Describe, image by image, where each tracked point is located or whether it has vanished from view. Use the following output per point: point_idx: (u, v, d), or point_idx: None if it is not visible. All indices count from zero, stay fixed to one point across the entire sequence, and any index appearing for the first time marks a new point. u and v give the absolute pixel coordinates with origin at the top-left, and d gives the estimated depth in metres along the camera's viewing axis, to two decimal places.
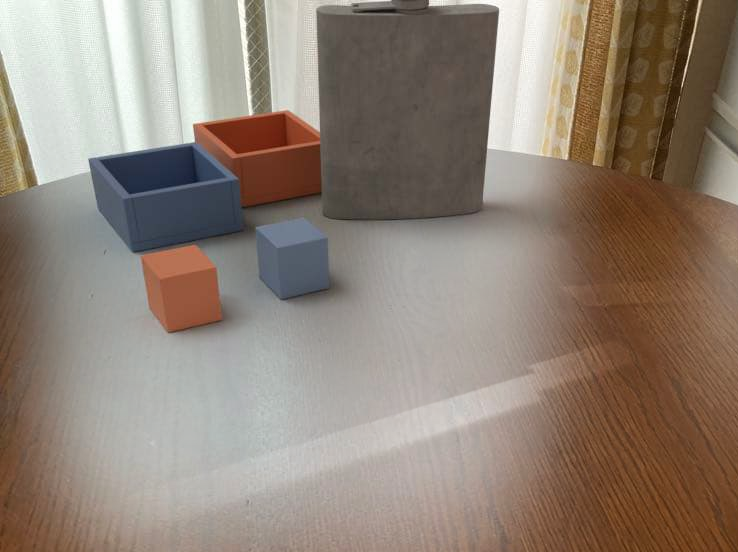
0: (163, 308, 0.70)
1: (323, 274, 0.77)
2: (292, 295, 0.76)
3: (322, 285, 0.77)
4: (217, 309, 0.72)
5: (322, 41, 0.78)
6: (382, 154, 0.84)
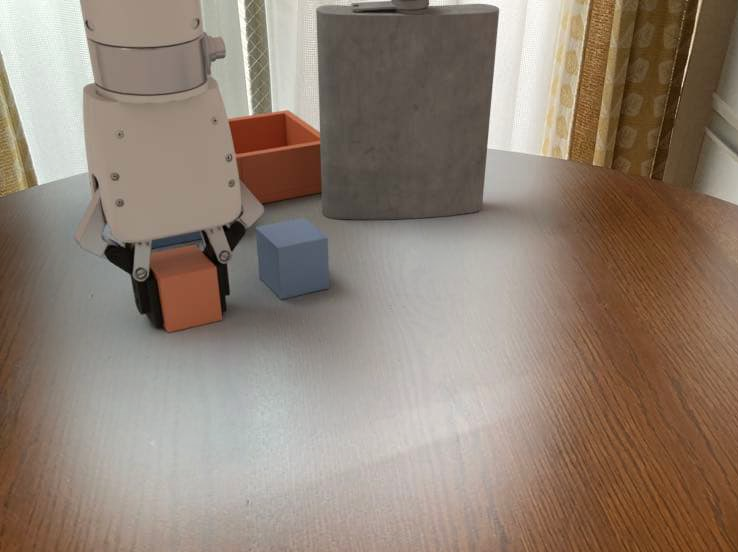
0: (163, 308, 0.70)
1: (323, 274, 0.77)
2: (292, 295, 0.76)
3: (322, 285, 0.77)
4: (217, 310, 0.72)
5: (322, 41, 0.78)
6: (382, 154, 0.84)
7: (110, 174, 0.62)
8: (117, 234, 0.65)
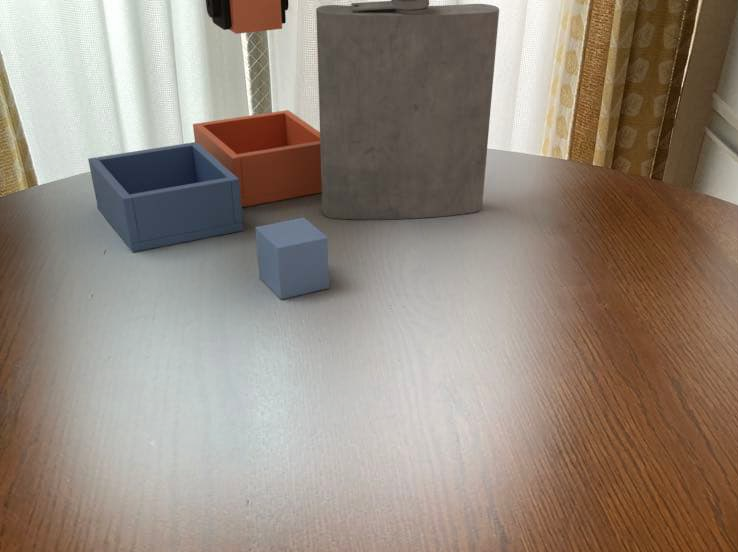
0: (232, 8, 0.80)
1: (323, 274, 0.77)
2: (292, 295, 0.76)
3: (322, 285, 0.77)
4: (278, 17, 0.82)
5: (322, 41, 0.78)
6: (382, 154, 0.84)
7: None
8: None
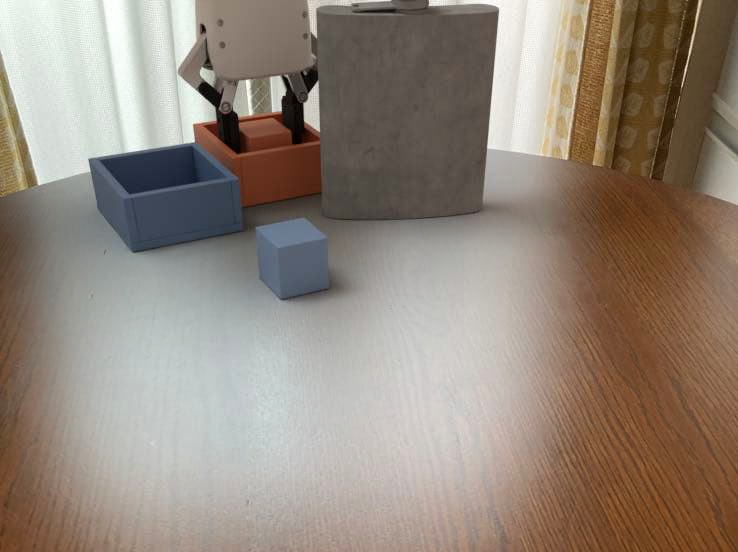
0: None
1: (323, 274, 0.77)
2: (292, 295, 0.76)
3: (322, 285, 0.77)
4: None
5: (322, 41, 0.78)
6: (382, 154, 0.84)
7: (217, 20, 0.82)
8: (218, 72, 0.84)
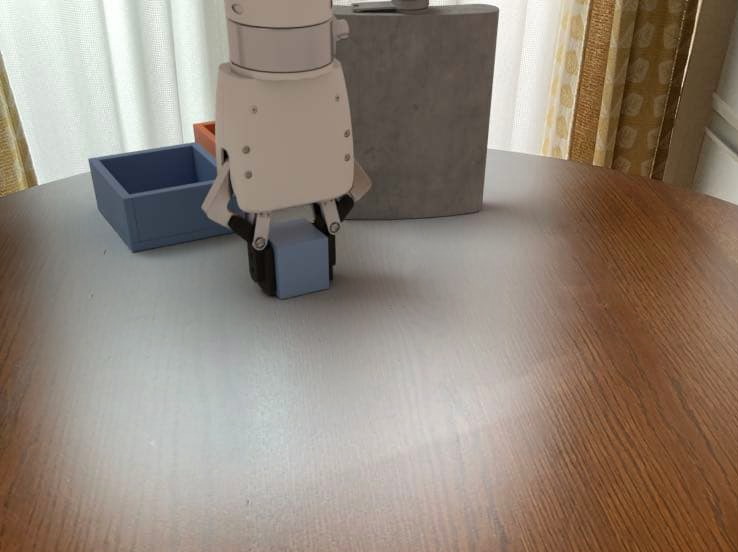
0: None
1: (323, 274, 0.77)
2: (292, 295, 0.76)
3: (322, 285, 0.77)
4: None
5: None
6: (382, 154, 0.84)
7: (242, 147, 0.67)
8: (243, 204, 0.70)
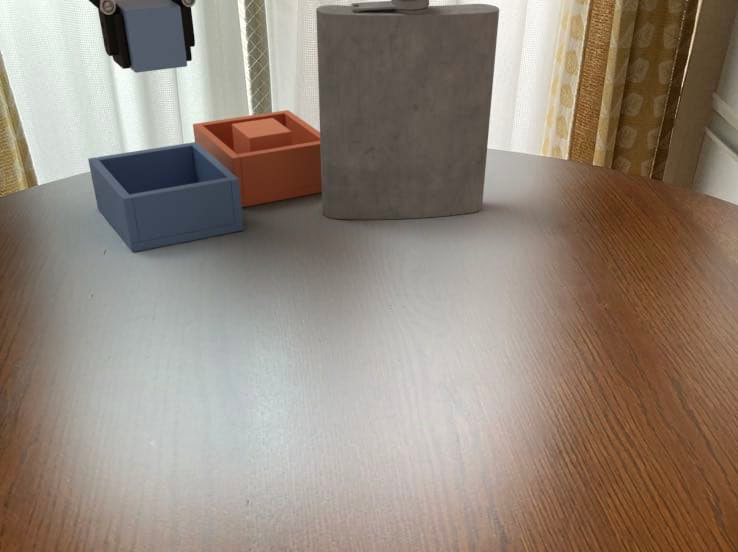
0: None
1: (179, 49, 0.76)
2: (147, 69, 0.76)
3: (179, 61, 0.76)
4: None
5: (322, 41, 0.78)
6: (382, 154, 0.84)
7: None
8: None
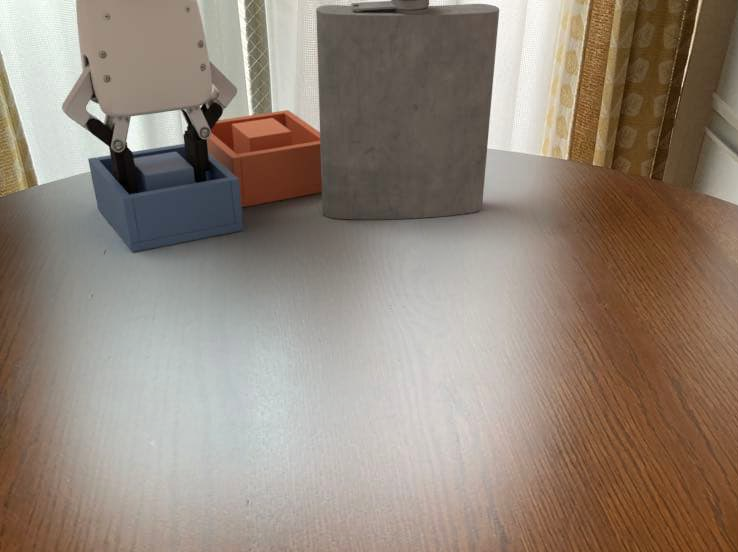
0: None
1: None
2: None
3: None
4: None
5: (322, 41, 0.78)
6: (382, 154, 0.84)
7: (99, 52, 0.74)
8: (105, 108, 0.77)
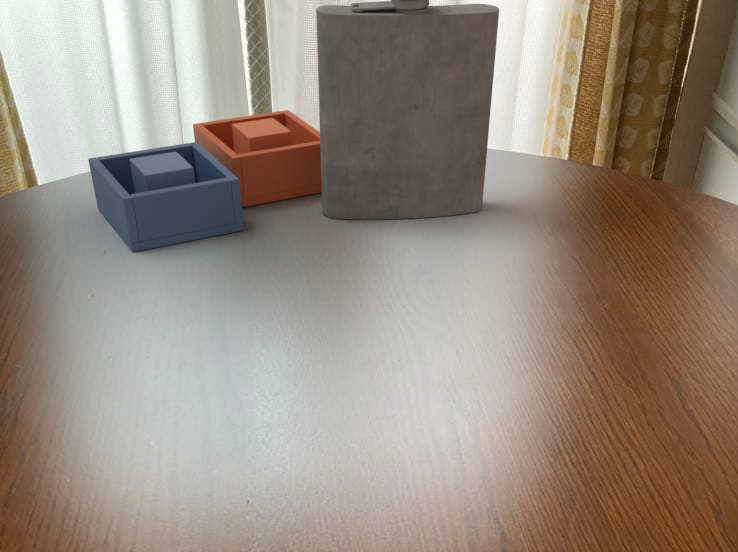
0: None
1: None
2: None
3: None
4: None
5: (322, 41, 0.78)
6: (382, 154, 0.84)
7: None
8: None
